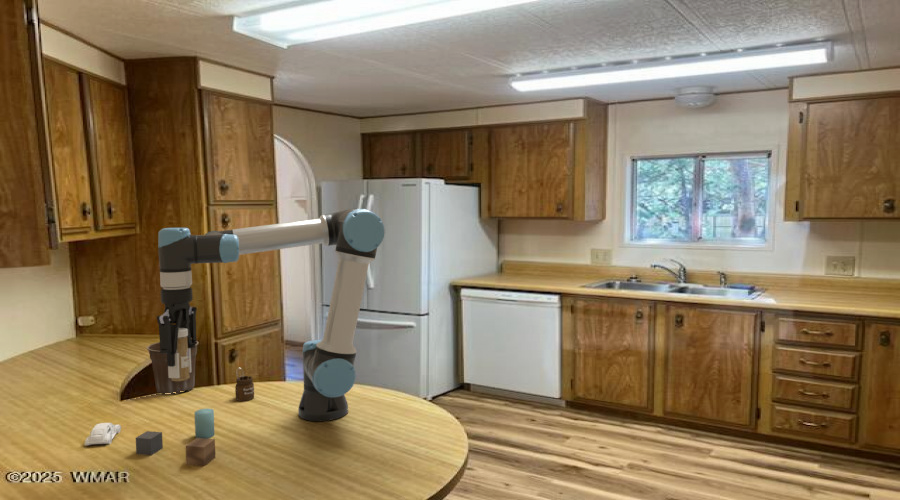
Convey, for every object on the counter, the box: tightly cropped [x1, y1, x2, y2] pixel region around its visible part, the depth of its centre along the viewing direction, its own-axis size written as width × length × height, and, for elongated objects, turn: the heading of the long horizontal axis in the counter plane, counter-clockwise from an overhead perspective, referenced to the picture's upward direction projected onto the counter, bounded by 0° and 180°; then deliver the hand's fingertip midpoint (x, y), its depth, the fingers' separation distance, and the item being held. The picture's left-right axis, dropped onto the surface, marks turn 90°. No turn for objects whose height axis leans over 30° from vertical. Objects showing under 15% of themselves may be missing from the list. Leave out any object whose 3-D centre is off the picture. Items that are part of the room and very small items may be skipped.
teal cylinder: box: [194, 408, 216, 439], centre depth 170 cm, size 5×5×7 cm
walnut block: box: [185, 437, 216, 467], centre depth 154 cm, size 5×5×5 cm
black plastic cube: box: [135, 430, 164, 456], centre depth 160 cm, size 4×4×4 cm
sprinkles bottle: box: [171, 328, 190, 381], centre depth 158 cm, size 5×5×13 cm
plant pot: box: [146, 340, 199, 395], centre depth 210 cm, size 16×16×16 cm
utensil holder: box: [234, 360, 255, 402], centre depth 201 cm, size 6×6×12 cm
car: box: [84, 422, 122, 447], centre depth 168 cm, size 12×6×5 cm, turn 10°
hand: (180, 374), depth 158 cm, fingers closed on sprinkles bottle, 4 cm apart
